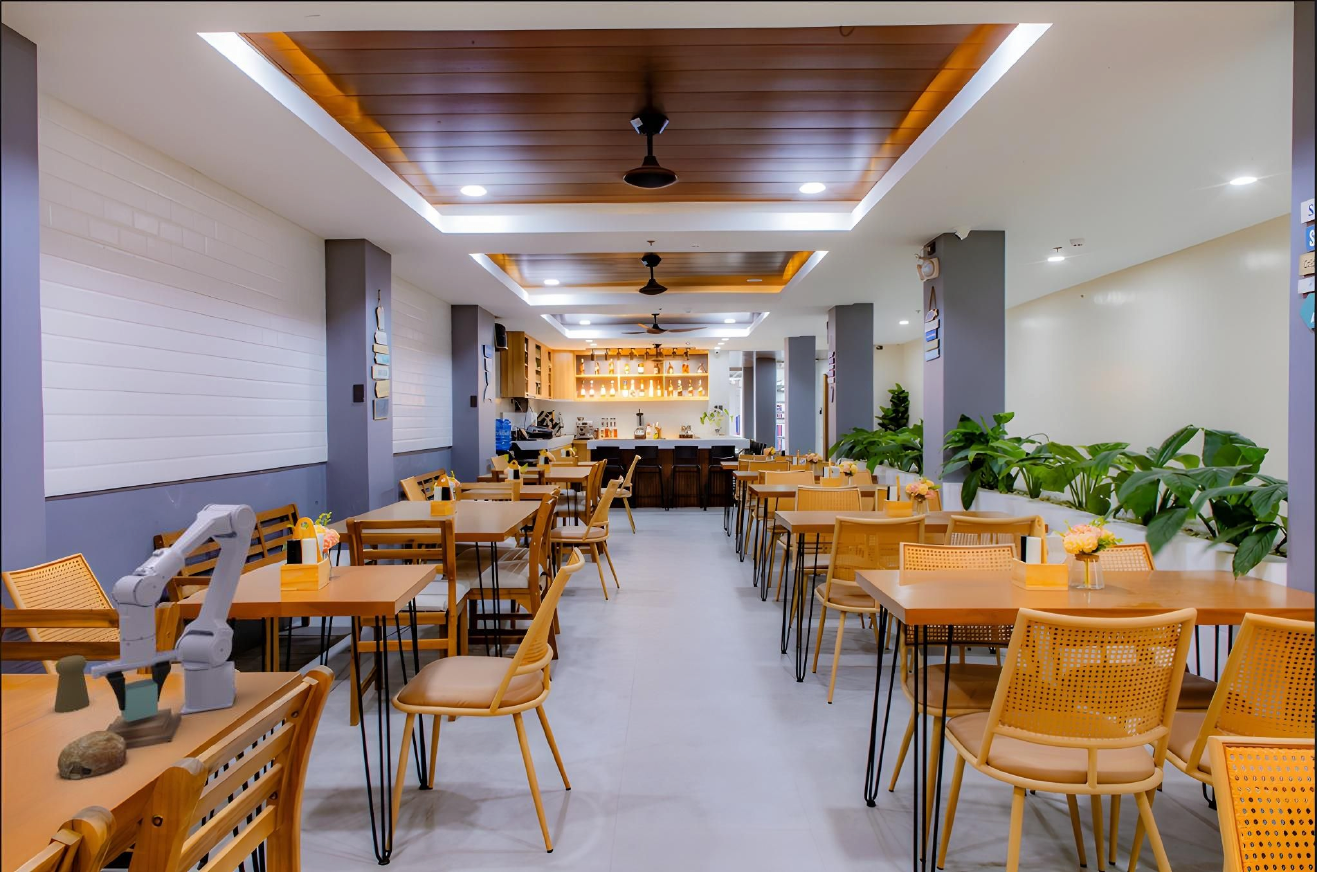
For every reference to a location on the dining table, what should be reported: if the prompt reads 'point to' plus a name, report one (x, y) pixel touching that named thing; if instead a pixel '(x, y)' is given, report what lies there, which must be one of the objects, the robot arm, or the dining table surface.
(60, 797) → the dining table surface
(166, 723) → the walnut stand
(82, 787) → the dining table surface
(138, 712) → the teal block
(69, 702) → the cork
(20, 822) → the dining table surface
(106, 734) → the brown rounded lump
